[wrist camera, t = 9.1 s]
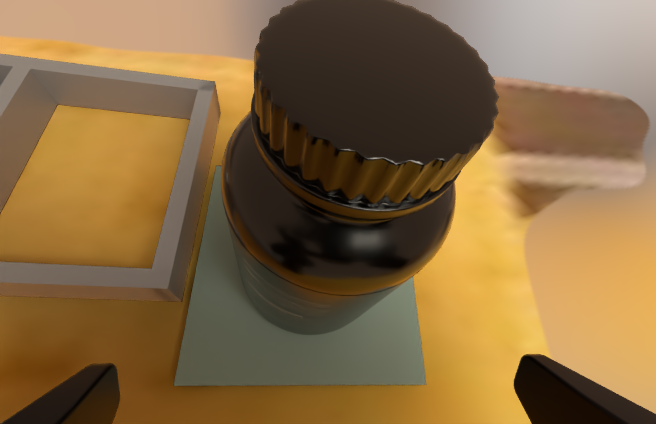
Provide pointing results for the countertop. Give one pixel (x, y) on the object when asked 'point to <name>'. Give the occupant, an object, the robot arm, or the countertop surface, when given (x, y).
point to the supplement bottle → (349, 156)
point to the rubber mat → (282, 346)
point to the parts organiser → (118, 95)
